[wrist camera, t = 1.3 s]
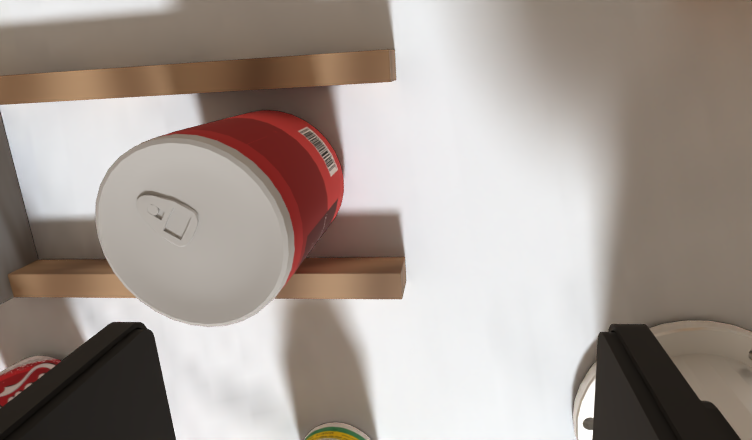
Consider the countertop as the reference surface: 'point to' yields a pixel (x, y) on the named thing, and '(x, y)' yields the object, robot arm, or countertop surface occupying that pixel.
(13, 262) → the guide channel
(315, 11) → the countertop surface
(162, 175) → the canned food
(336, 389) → the countertop surface
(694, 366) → the robot arm
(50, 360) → the soda can
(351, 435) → the supplement bottle
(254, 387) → the countertop surface
